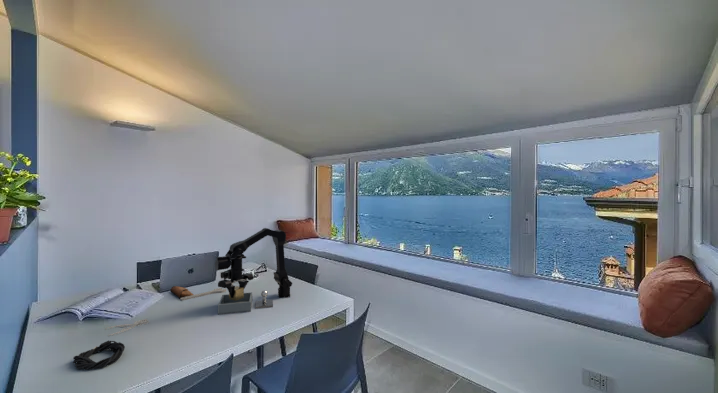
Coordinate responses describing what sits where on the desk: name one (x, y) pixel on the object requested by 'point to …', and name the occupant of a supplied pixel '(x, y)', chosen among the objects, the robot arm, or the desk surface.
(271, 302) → the metal ball pedestal
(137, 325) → the forked twig
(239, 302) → the bin
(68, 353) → the desk surface
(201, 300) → the desk surface
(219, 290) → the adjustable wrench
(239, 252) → the robot arm
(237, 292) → the wooden block
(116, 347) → the cable
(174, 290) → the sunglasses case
